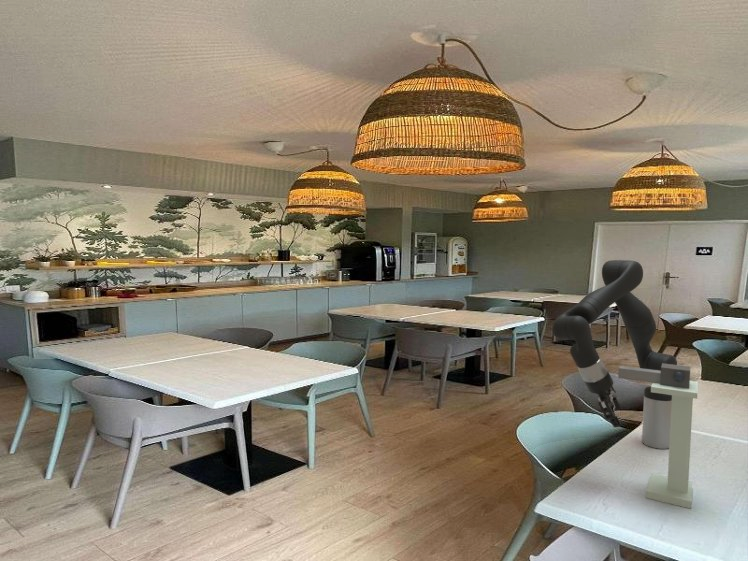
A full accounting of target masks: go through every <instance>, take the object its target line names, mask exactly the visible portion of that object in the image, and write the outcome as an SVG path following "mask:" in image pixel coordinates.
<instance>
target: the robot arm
mask: <svg viewBox="0 0 748 561" xmlns="http://www.w3.org/2000/svg"><path fill="white" fill-rule="evenodd" d="M643 277H644V270H643V266H642V265H641V263H640V262H638V261H635V260H628V259H627V260H625V259H623V260H622V259H613V260H612V259H611V260H608V261H605V262H604V264H603V265H602V267H601V278H602V281H603V283H604V286H602V287H600V288H597V289H594V290H593V291H591V292H589V293H588V294H586V295H585V296H583V298H582V299H580V301H579V302H578V303H577V304H576V305H574V306H573V307H572V308H569V309H568V310H566V311H564V312H563V313H561V314H560V315H559V316H557V317H556V319H555V320H554V321H553V324H552V327H551V331H552V334H553V336H554V337H555V338H556V339H557V340H561V341H575V342H576V343H574V344H573V345H572V346H570V348H569V352H570V356H571V358H572V359H573V361H574V363H575V365H576V367H577V369H578V370H577V371H578V372H579V374H580V376H581V379H582V380H583V382H584V384H585V386H586V388H587V389H588V392H590V393H592V394H595V395H597V399H598V402H597V404H598V406H599V408H600V410H601V411H602V414H603V415H604V418H605V420H606V421H610V423H611V425H612V427H613V428H619V427H621V426H622V424H621V420H620V419H619V418H618V415H617V413H616V412H617V411H620V410H621V409H622V407H621V405H620V403H619V400H618V399H617V395H616V391H617V390H616V389H615V388H614V387H613V385H614V380H613V378H612V376H611V375H610V372H609V370H608V369H607V367H606V365H605V363H604V361H603V360H602V359H601V357H600V355H599V354H598V351H597V350H596V347H595V345H594V341H593V335H592V330H591V325H590V324H592V323H594V322H595V321H596V320H597V319H598V318H599V317H600V316H601V315H603V313H604V312H605V311H606V310H607V309H609V307H610V306H612V305H614V304H615V305H616V308H617V310H618V312H619V314H620V317H621V319H622V322H623V324H624V327H625V329H626V332H627V333H628V335H629V337H630V340H631V343H632V346H633V348H634V351H635V355H636V359H637V362H638V366H639V368H642V369H650V370H659V371H661V366H662V363H664V364H673V365H678V362H677V361H678V360H677V358H676V356H674V355H672V354H669V353H668V354H667V353H661V352H656V351H654V350H653V349H652V348H651V345H650V343H651V341H652V339H653V338H654V336H655V334H656V331H657V323H656V321H655V319H654V316H653V313H652V311H651V309H650V308H649V307H648V306H647V305H646V304H645V303H644V302H643V301H642V300H640V298H638V297H637V296H635V294H633V293H632V291H634V290H635V289H636V288H638V287H639V286H640V284H641V283H642V281H643V279H644V278H643ZM651 386H652V385H649V386H646V387H645V388H644V390H643V407H642V408H643V409H642V410H643V411H642V428H641V429H642V431H641V433H642V434H641V443H642V444H643V443H644V444H643V445H645V446H647V447H650V448H653V449H659V450H662V449H663V450H664V449H665V450H666V449H669V444H670V425H671V405H672V395H667V394H660V393H653V392H651Z"/></svg>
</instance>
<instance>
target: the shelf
mask: <svg viewBox="0 0 748 561" xmlns="http://www.w3.org/2000/svg"><path fill="white" fill-rule="evenodd" d="M650 386H651V392H653V393H660V394H667V395H672V405H671V425H670V444H669V448H668V450H669V451H668V467H667V469H668V470H667V475H663V474H660V473H654V472H650V473H649V477H648V480H647V485H646V489H645V498H646V499H650V500H653V501H657V502H663V503H666V504H670V505H675V506H678V507H679V506H680V507H683V508H686V509H692V503H693V502H692V497H693V481H692V480H690V479H689V476H690V462H691V460H690V459H691V440H692V422H693V419H692V418H693V404H694V403H693V402H694V399H695V400H696V399H698V394H699V393H698V392H699V391H698V389H699V388H698V386H699V381H695V380H690V384H689V389H688V388H681V387H673V386H666V385H660V384H659V383H651V385H650Z"/></svg>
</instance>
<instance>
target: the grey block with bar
mask: <svg viewBox="0 0 748 561" xmlns="http://www.w3.org/2000/svg"><path fill="white" fill-rule="evenodd" d="M617 372H618V374H617V378H618V379H621V380H622V379H623V380H631V381H638V382H646V383H651V384H652V383H659V384H660V385H666V386H673V387H681V388H688V389H689V384H690V381H691V366H689V365H680V364H677V365H673V364H664V363H662V366H661V371H659V370H650V369H642V368H640V367H633V366H626V365H624V366H623V365H620V366H618V371H617Z"/></svg>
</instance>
